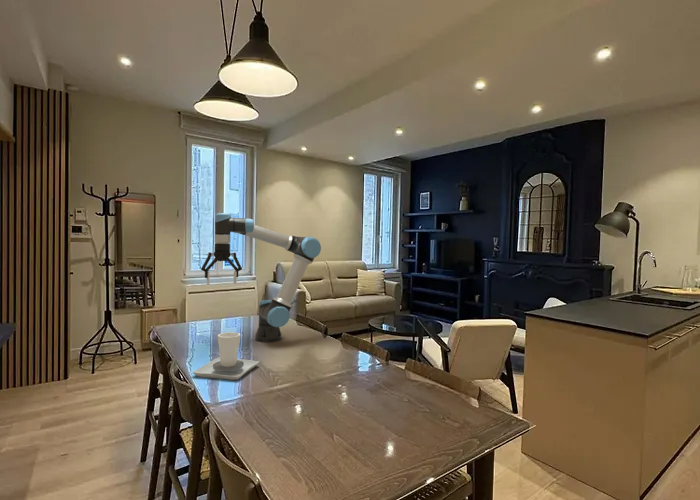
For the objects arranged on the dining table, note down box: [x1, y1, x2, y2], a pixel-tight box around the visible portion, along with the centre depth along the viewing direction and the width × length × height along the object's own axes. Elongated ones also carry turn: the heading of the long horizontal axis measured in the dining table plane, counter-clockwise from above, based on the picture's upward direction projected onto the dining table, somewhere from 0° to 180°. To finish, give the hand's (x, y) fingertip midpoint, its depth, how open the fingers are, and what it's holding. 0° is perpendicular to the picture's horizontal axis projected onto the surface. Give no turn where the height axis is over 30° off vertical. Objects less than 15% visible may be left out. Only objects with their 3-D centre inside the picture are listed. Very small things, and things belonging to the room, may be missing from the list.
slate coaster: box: [213, 360, 244, 371], centre depth 168 cm, size 13×13×1 cm
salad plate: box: [192, 356, 260, 381], centre depth 168 cm, size 21×21×3 cm
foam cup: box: [217, 331, 241, 367], centre depth 168 cm, size 10×9×13 cm
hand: (221, 284), depth 199 cm, fingers open, 13 cm apart
